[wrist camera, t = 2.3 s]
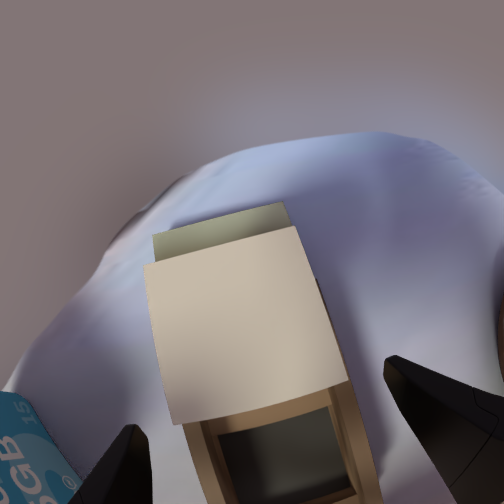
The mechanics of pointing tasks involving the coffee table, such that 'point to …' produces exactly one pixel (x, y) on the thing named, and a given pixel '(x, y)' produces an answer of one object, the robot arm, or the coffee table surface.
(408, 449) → the coffee table surface
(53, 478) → the data package
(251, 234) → the walnut channel
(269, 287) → the cream block
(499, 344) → the plant saucer
